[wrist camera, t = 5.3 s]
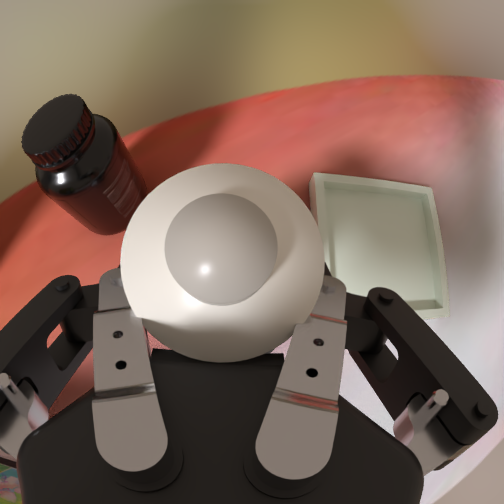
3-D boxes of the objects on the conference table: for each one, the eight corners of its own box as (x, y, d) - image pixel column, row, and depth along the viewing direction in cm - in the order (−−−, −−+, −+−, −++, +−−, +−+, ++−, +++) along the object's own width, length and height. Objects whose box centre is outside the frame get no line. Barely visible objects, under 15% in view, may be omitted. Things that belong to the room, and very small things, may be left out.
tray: (314, 326, 23) (321, 325, 21) (308, 183, 26) (313, 172, 25) (437, 318, 24) (449, 316, 22) (421, 195, 27) (431, 187, 25)
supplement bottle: (129, 157, 26) (86, 67, 15) (161, 208, 25) (118, 119, 13) (72, 197, 25) (5, 125, 13) (98, 252, 24) (17, 193, 12)
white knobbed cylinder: (179, 342, 16) (100, 355, 5) (183, 255, 17) (129, 146, 7) (269, 345, 16) (337, 364, 6) (269, 258, 18) (326, 153, 7)
